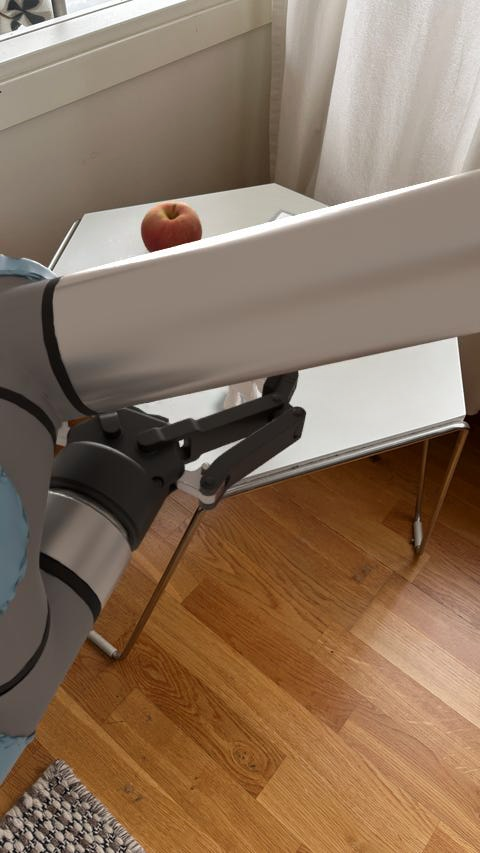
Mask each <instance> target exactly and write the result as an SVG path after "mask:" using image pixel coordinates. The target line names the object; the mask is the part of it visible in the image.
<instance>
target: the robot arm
mask: <svg viewBox="0 0 480 853" xmlns="http://www.w3.org/2000/svg"><path fill="white" fill-rule="evenodd" d="M478 333H480V168H478V169H473V170H469V171H466V172H461V173H458V174H454V175H450V176H445V177H442V178H438V179H434V180H431V181H427V182H422V183H418V184H414V185H412V186H406V187H404V188H399V189H395V190H392V191H388V192H383V193H379V194H376V195H371V196H368V197H363V198H359V199H355V200H353V201H352V200H351V201H347V202H345V203H340V204H337V205H333V206H329V207H325V208H320V209H317V210H312V211H309V212H306V213H301V214H297V216H293V217H289V218H286V219H282V220H278V221H274V222H270V223H267V222H266V223H263V224H258V225H254V226H250V227H247V228H243V229H239V230H235V231H231V232H227V233H223V234H220V235H216V236H212V237H207V238H204V239H201V240H200V241H196V242H192V243H188V244H184V245H180V246H176V247H172V248H168V249H164V250H161V251H157V252H153V253H150V252H148V253H146V254H141V255H138V256H134V257H130V258H125V259H122V260H118V261H114V262H110V263H106V264H102V265H98V266H94V267H91V268H87V269H82V270H79V271H74V272H71V273H68V274H64V275H62V276H58V275H57V274H56V273H55V272H54V271H52V270H51V269H50V268H49V267H46V266H45V265H43V264H41V263H39V262H38V261H36V260H34V259H33V260H32V259H30V258H26V257H21V258H17V257H10V256H6V255H4V254H1V253H0V786H2V784H3V782H4V781H5V779H6V777H7V776H8V775H9V773H10V772H11V770H12V769H13V767H14V766H15V764H16V762H17V761H18V759H19V758H20V757H21V755H22V753H23V752H24V750H25V749H26V748H27V746H28V745H29V744H31V743H32V742H33V741H34V739H35V738H36V735H37V734H36V733H37V727H38V725H39V724H40V722H41V720H42V718H43V717H44V715H45V713H46V711H47V710H48V708H49V706H50V704H51V702H52V701H53V699H54V697H55V695H56V693H57V692H58V690H59V689H60V687H61V684H62V682H63V681H64V679H65V678H66V676H67V674H68V672H69V670H70V669H71V667H72V666H73V664H74V661H75V659H76V658H77V656H78V654H79V653H80V651H81V649H82V647H83V646H84V644H85V641H86V640H87V638H88V637H89V634H90V633H91V631H92V629H93V627H94V625H95V624H96V622H97V620H98V618H99V617H100V615H101V612H102V611H103V609H104V608H105V606H106V604H107V602H108V601H109V599H110V597H111V595H112V594H113V592H114V590H115V589H116V587H117V585H118V583H119V581H120V580H121V578H122V577H123V575H124V573H125V571H126V570H127V568H128V566H129V564H130V562H131V561H132V556H133V552H135V551H137V550H138V548H139V547H140V545H141V544H142V542H143V540H144V538H145V537H146V535H147V533H148V531H149V530H150V528H151V527H152V524H153V523H154V521H155V519H156V517H157V516H158V514H159V512H160V510H161V509H162V507H163V505H164V503H165V501H166V500H167V498H168V497H169V496H170V495H171V494H173V493H174V492H176V491H177V490H180V491H182V492H185V493H186V494H189V495H191V496H193V497H195V498H197V499H198V505H199V507H200V508H201V509H202V510H204V511H212V510H214V509H216V507H217V506H218V505H219V503H220V501H221V500H222V498H224V495H225V494H226V493H227V491H228V489H230V488H231V487H233V486H234V485H236V484H237V483H239V482H240V481H241V480H243V479H244V478H247V476H249V475H250V474H252V473H253V472H254V471H256V470H257V469H258V468H260V467H262V466H263V465H264V464H266V463H268V462H269V461H270V460H272V459H273V458H275V457H276V456H277V455H279V454H280V453H282V452H283V451H285V450H286V449H288V448H289V447H290V446H292V445H293V444H295V443H296V442H298V441H299V440H300V439H302V436H303V431H304V426H305V422H306V416H307V411H306V410H305V408H303V407H302V406H293V405H292V404H291V400H292V399H293V396H294V395H295V392H296V390H297V386H298V382H299V376H300V375H299V374H300V372H301V371H303V370H308V369H309V370H310V369H313V368H318V367H323V366H327V365H332V364H337V363H341V362H342V363H343V362H346V361H350V360H351V361H352V360H356V359H360V358H365V357H370V356H375V355H378V354H379V355H380V354H383V353H389V352H394V351H398V350H403V349H407V348H413V347H417V346H422V345H426V344H432V343H436V342H440V341H445V340H449V339H454V338H459V337H465V336H469V335H473V334H478ZM299 371H300V372H299ZM262 378H267V379H266V381H265V383H264V385H263V390H262V394H261V396H259V397H257V399H254V400H251V401H248V402H245V403H244V402H242V403H241V404H240V405H237V406H234V407H231V408H228V409H226V410H225V409H222V410H221V411H217V412H215V413H211V414H209V415H205V416H204V417H200V418H197V419H195V418H193V417H187V418H184V419H182V420H179V421H178V420H177V421H176V422H173V423H170V418H169V417H166V416H162V415H160V414H153V413H147V412H146V411H144V410H143V409H141V408H139V407H138V406H139V405H143V404H148V403H153V402H159V401H162V400H167V399H172V398H177V397H181V396H182V397H183V396H186V395H191V394H196V393H200V392H205V391H209V390H215V389H220V388H224V387H229V385H234V384H239V383H243V382H248V381H253V380H257V379H262ZM87 417H90V418H87ZM83 418H87V419H84V420H82V421H80V422H77V423H75V424H74V425H72V426H71V427H70V426H69V422H70V421H75V420H79V419H80V420H81V419H83ZM181 441H183V444H182V445H181V444H180V442H181ZM236 442H238V443H236ZM233 443H236V444H234V445H232V447H230V448H229V449H227V450H225V451H223V452H222V453H221V454H220V455H218V456H217V457H216V458H215V459H214V460H213V461H212V462H211V463H209V462H204V463H202V464H201V466H199V467H198V468H196V469H195V470H188V469H186V465H188V464H191V463H193V462H196V461H197V460H199V459H200V457H202V456H203V455H204V454H207V453H209V452H212V451H214V450H217V449H219V448H222V447H225V446H227V445H231V444H233ZM57 445H58V446H62V447H61V449H60V450H59V451H58V452H57V454H56V448H57Z"/></svg>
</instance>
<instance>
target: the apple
mask: <svg viewBox="0 0 480 853" xmlns="http://www.w3.org/2000/svg"><path fill="white" fill-rule="evenodd" d="M140 237H141V240H142V242H143V245H144V246H145V249H146V250H147V251H148V253H153V252H157V251H161V250H164V249H168V248H172V247H176V246H180V245H184V244H188V243H192V242H196V241H200V240H202V237H203V226H202V222H201V220H200V217H199V215H198V214H197V212H196V210H195V209H194V208H193V207H192V206H190V205H189V204H187V203H184V202H181V201H167V202H161V203H159V204H157V205H155V206H153V207H152V208H150V209H149V210H148V211H147V212H146V213H145V215H144V217H143V219H142V221H141V224H140Z"/></svg>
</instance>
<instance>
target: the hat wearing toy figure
mask: <svg viewBox="0 0 480 853" xmlns="http://www.w3.org/2000/svg"><path fill="white" fill-rule="evenodd" d="M266 379H267V378H262V379H257V380H253V381H248V382H243V383H239V384H234V385H229V386H228V391H227V394H226V397H225V399H224V402H223V406H222V407H223V410H226V409H228V408H231V407H234V406H237V405H240V404H242V398H241V395H242V396H243V400H244V401H243V403H245V402H248V401H251V400H254V399H257V398H258V393H257V391H258V392H259V393H260V394H261V395H262V390H263V385H264V383H265V381H266Z"/></svg>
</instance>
